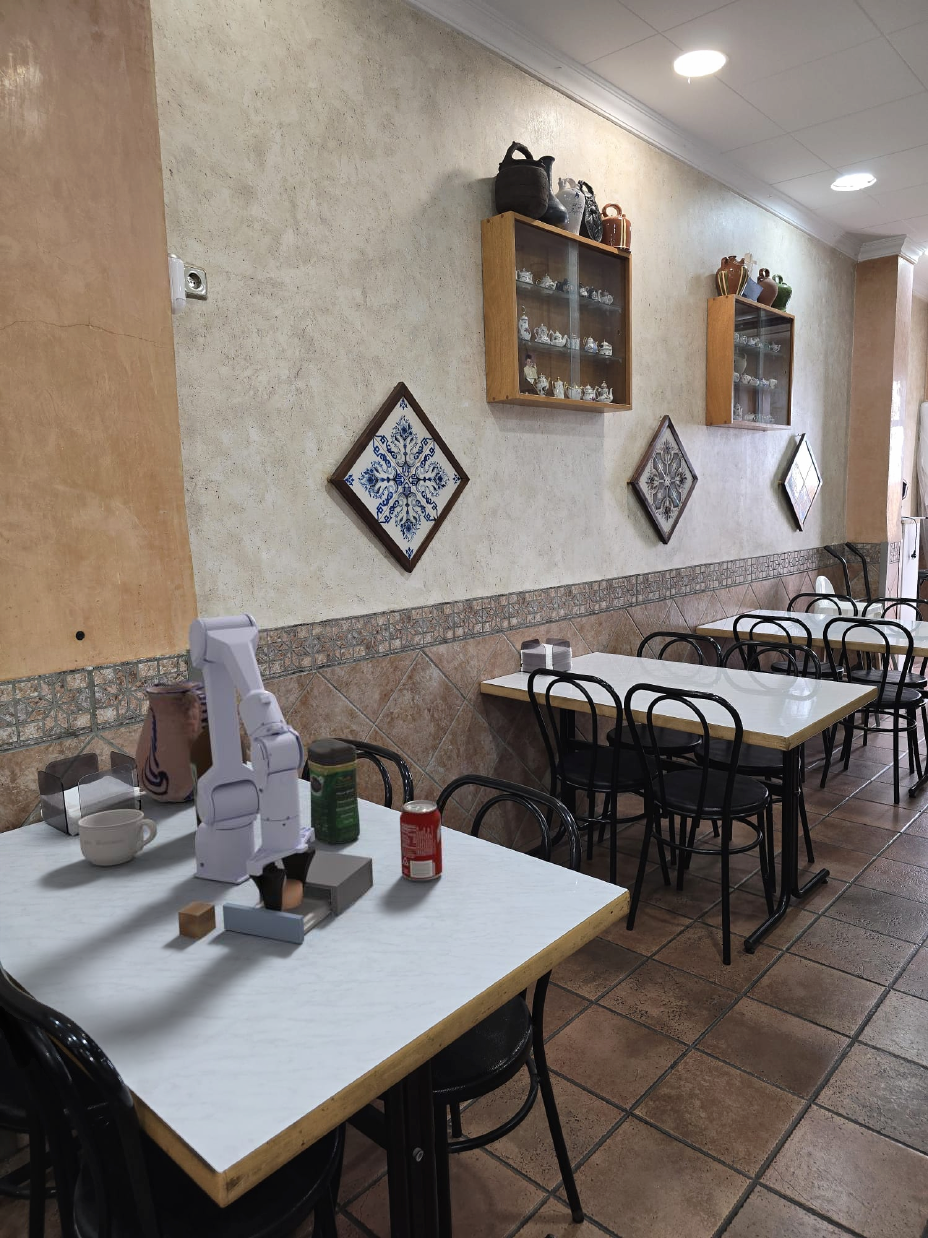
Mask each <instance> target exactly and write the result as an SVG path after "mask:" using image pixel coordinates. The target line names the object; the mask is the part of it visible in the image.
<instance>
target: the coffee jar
mask: <svg viewBox="0 0 928 1238" xmlns="http://www.w3.org/2000/svg"><path fill="white" fill-rule="evenodd" d="M307 765H308V771H309V779H310V780H309V781H310V782H309V783H310V828H314V835H315V839H316V840H319V841H321V842H323V843H325V844H328V845H329V844H330V845H331V844H340V843H341V844H346V843H349V842H351V841H353V840H355V839H356V838H358V837H359V836H360V834H361V827H360V825H361V824H360V815H359V814H360V811H359V801H358V800H359V799H358V789H357V788H358V787H357V785H358V784H357V767H358V756H357V749H356V746H355V745H353V744H350V743H346V742H344V741H341V740H339V739H334V738H333V737H326V738H324V737H323V738H320V739H314V740H312V742H311V743H310V744H309V746H308V748H307Z"/></svg>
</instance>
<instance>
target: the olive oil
mask: <svg viewBox="0 0 928 1238" xmlns="http://www.w3.org/2000/svg"><path fill="white" fill-rule="evenodd" d="M207 722H208V723H207V726H206V727H205V728H204V729H203V731H202V732H201V733H200V734H199V735H198V736H197V738H196V739H195V740H194V742H193V744H192V746H191V750H190V767H191V775H192V783H193V792H194V799H193V800H194V808H195V816H196V817H195V818H196V830H197V829H198V827H199V825H200V824H201V823H202V821H201V819H200V817H199V814H198V809H197V795H198V786H197V784H198V780H199V779H200V778H201V777H202V776H203V775H204V774H205V773H206V772H207V771H208V770H209V769H210V768H211V767H212V765H213V761H212V751H211V741H210V731H209V721H208V712H207ZM240 742H241V752H242V762H243V764H245V765H247V766H248V750H247V745H246V743H245V741H244V738H243V737H242V736H241V735H240ZM240 781H243V780H240ZM235 782H238V781H235ZM230 783H233V782H230ZM225 784H228V783H225ZM220 785H223V784H220ZM218 786H219V785H218Z"/></svg>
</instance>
